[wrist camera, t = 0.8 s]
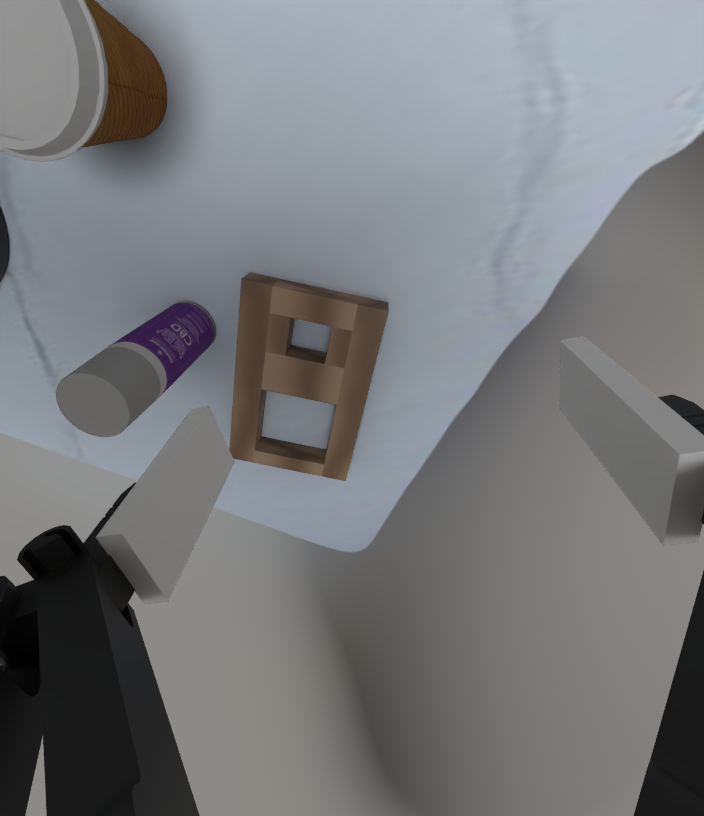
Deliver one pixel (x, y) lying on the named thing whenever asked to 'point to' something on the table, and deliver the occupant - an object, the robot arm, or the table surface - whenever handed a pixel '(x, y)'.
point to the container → (135, 370)
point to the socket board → (302, 369)
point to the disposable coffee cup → (72, 79)
